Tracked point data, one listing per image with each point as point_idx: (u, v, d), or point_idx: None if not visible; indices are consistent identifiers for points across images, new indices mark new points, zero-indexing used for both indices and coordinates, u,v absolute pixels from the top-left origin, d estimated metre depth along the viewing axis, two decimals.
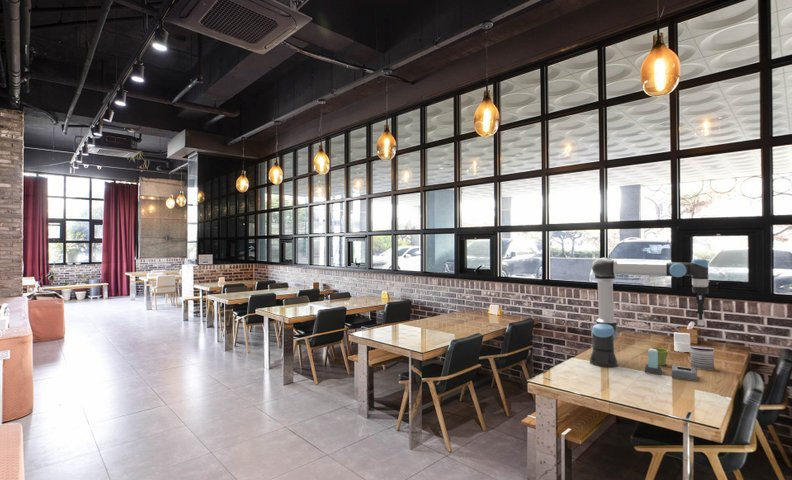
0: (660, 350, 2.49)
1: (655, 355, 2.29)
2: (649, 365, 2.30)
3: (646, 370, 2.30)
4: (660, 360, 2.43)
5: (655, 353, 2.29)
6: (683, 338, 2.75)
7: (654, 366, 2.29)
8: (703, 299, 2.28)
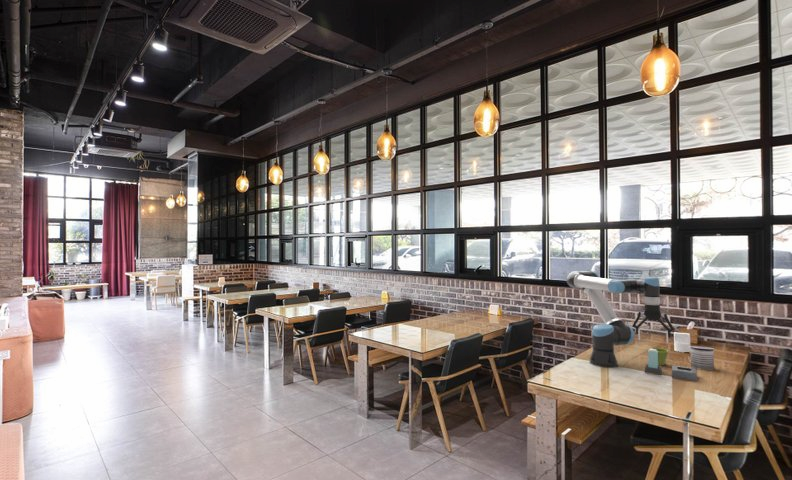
0: (660, 350, 2.49)
1: (655, 355, 2.29)
2: (649, 365, 2.30)
3: (646, 370, 2.30)
4: (660, 360, 2.43)
5: (655, 353, 2.29)
6: (683, 338, 2.75)
7: (654, 366, 2.29)
8: (646, 316, 2.32)
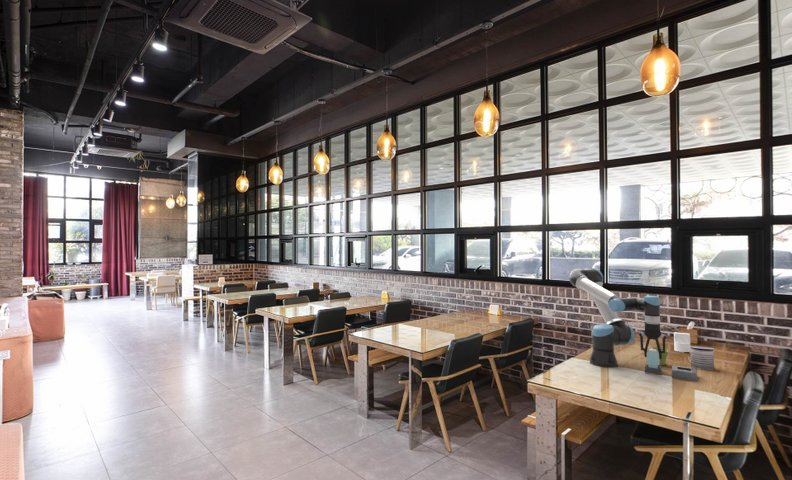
0: None
1: (655, 355, 2.29)
2: (649, 365, 2.30)
3: (646, 370, 2.30)
4: (660, 360, 2.43)
5: (655, 353, 2.29)
6: (683, 338, 2.75)
7: (654, 366, 2.29)
8: (647, 336, 2.32)
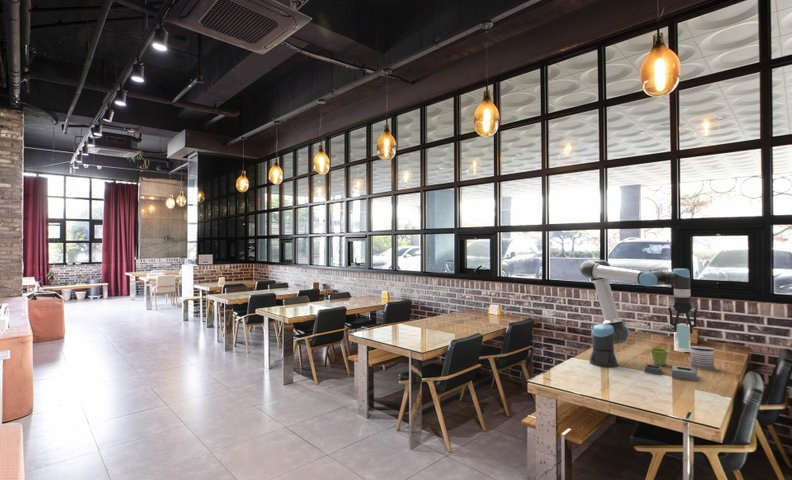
0: (660, 350, 2.49)
1: (686, 329, 2.20)
2: (679, 340, 2.22)
3: (646, 370, 2.30)
4: (660, 360, 2.43)
5: (686, 327, 2.20)
6: None
7: (685, 341, 2.21)
8: (677, 310, 2.23)
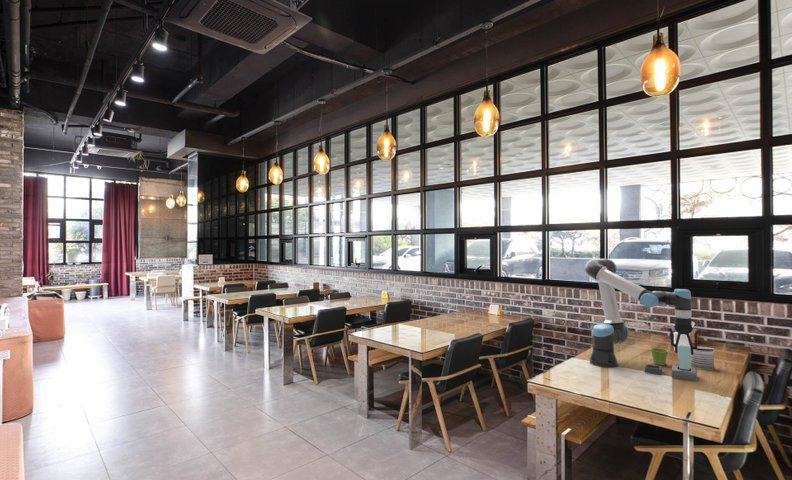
0: (660, 350, 2.49)
1: (687, 351, 2.20)
2: (680, 361, 2.22)
3: (646, 370, 2.30)
4: (660, 360, 2.43)
5: (687, 348, 2.20)
6: (683, 338, 2.75)
7: (685, 362, 2.20)
8: (678, 331, 2.23)
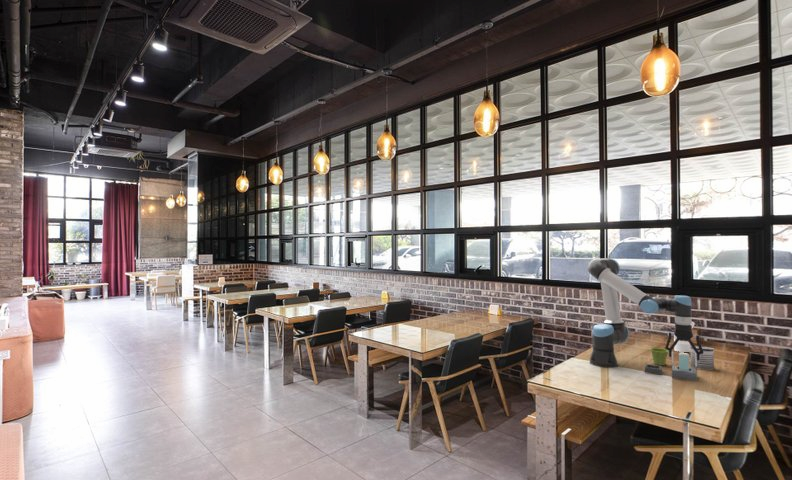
0: (660, 350, 2.49)
1: (686, 359, 2.20)
2: (680, 369, 2.22)
3: (646, 370, 2.30)
4: (660, 360, 2.43)
5: (686, 357, 2.20)
6: None
7: None
8: (677, 337, 2.23)
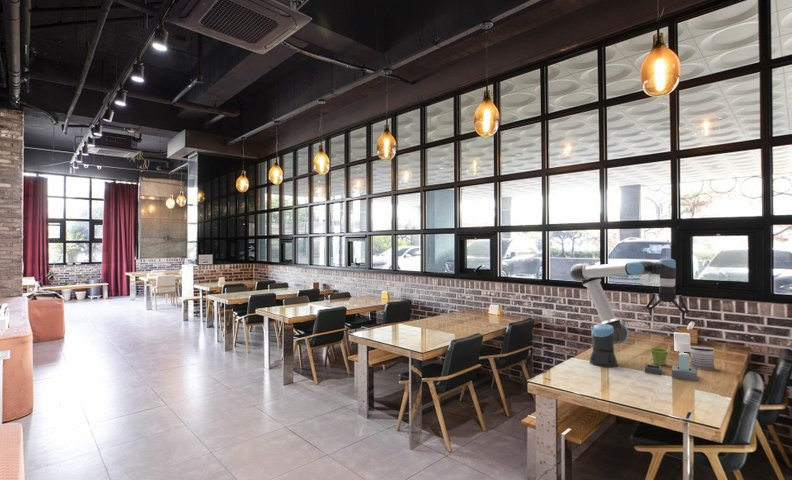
0: (660, 350, 2.49)
1: (686, 359, 2.20)
2: (680, 369, 2.22)
3: (646, 370, 2.30)
4: (660, 360, 2.43)
5: (686, 357, 2.20)
6: (683, 338, 2.75)
7: None
8: (661, 298, 2.31)
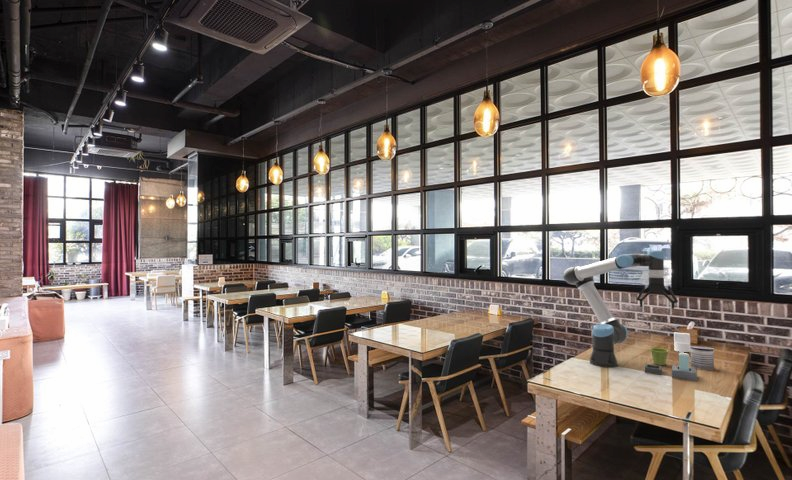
0: (660, 350, 2.49)
1: (686, 359, 2.20)
2: (680, 369, 2.22)
3: (646, 370, 2.30)
4: (660, 360, 2.43)
5: (686, 357, 2.20)
6: (683, 338, 2.75)
7: None
8: (650, 289, 2.36)
